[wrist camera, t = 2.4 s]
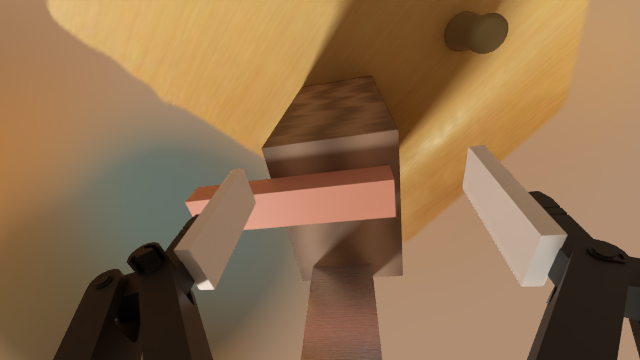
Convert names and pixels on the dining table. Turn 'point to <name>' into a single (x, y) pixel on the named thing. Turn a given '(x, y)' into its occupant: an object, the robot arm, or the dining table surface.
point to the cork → (476, 32)
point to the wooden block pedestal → (336, 155)
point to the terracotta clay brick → (314, 198)
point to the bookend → (342, 315)
